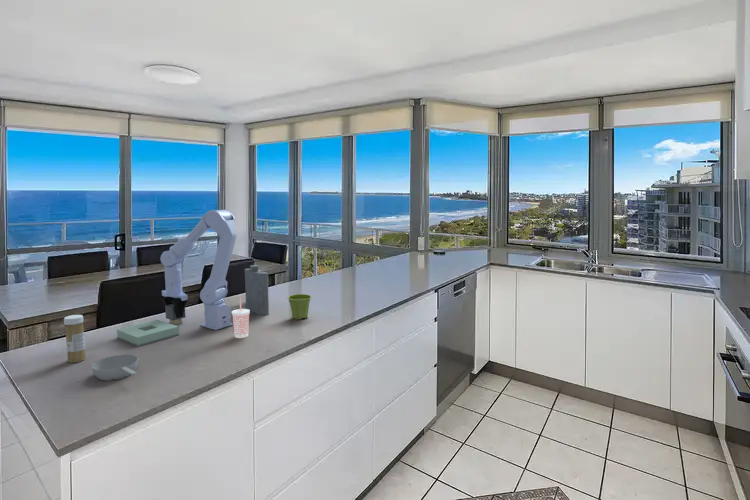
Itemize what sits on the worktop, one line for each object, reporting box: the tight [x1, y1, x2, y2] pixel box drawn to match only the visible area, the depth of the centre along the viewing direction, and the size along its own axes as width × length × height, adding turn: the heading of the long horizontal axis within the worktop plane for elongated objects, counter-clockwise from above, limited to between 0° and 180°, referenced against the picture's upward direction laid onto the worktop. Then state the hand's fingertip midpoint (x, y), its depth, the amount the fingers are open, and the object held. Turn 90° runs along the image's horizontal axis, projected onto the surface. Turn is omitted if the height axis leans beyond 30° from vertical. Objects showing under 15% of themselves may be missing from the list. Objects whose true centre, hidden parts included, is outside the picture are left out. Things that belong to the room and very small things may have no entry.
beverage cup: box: [231, 296, 251, 339], centre depth 143 cm, size 6×6×14 cm
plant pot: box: [287, 293, 312, 320], centre depth 166 cm, size 9×9×9 cm
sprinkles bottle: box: [63, 314, 87, 363], centre depth 120 cm, size 5×5×14 cm
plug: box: [164, 304, 186, 325], centre depth 157 cm, size 5×5×7 cm
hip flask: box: [244, 264, 270, 316], centre depth 174 cm, size 16×4×20 cm, turn 46°
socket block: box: [116, 319, 180, 347], centre depth 142 cm, size 14×14×3 cm
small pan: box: [91, 354, 139, 381], centre depth 110 cm, size 11×18×4 cm, turn 52°
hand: (175, 315), depth 157 cm, fingers closed on plug, 5 cm apart
